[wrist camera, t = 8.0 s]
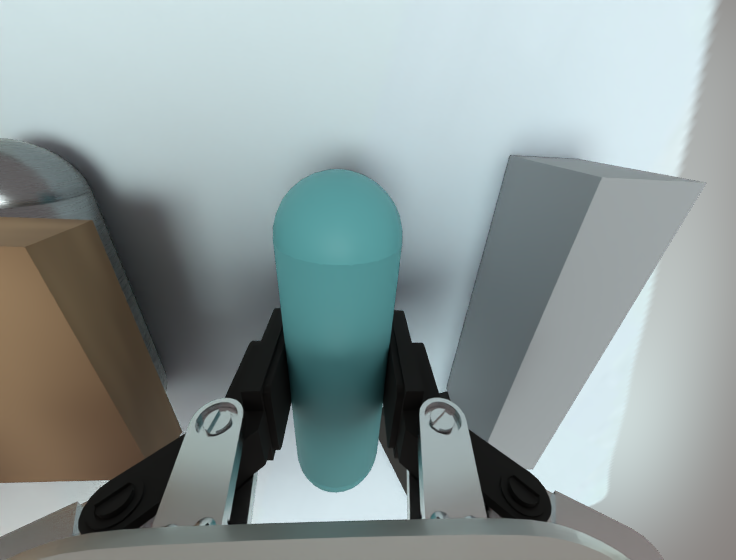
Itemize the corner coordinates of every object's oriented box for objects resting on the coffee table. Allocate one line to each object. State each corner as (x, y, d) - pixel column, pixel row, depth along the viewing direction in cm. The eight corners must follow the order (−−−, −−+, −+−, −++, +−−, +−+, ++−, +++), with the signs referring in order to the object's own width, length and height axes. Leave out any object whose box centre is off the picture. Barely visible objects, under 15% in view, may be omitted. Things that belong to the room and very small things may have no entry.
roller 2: (282, 157, 9) (244, 180, 6) (399, 163, 9) (424, 189, 6) (305, 430, 15) (293, 510, 12) (372, 429, 16) (377, 507, 13)
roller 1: (124, 385, 17) (74, 444, 14) (-7, 132, 11) (-155, 138, 8) (186, 385, 18) (151, 443, 14) (96, 137, 11) (-6, 146, 8)
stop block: (446, 388, 19) (475, 470, 14) (509, 155, 12) (602, 177, 8) (491, 388, 19) (532, 469, 15) (578, 159, 12) (707, 182, 8)
